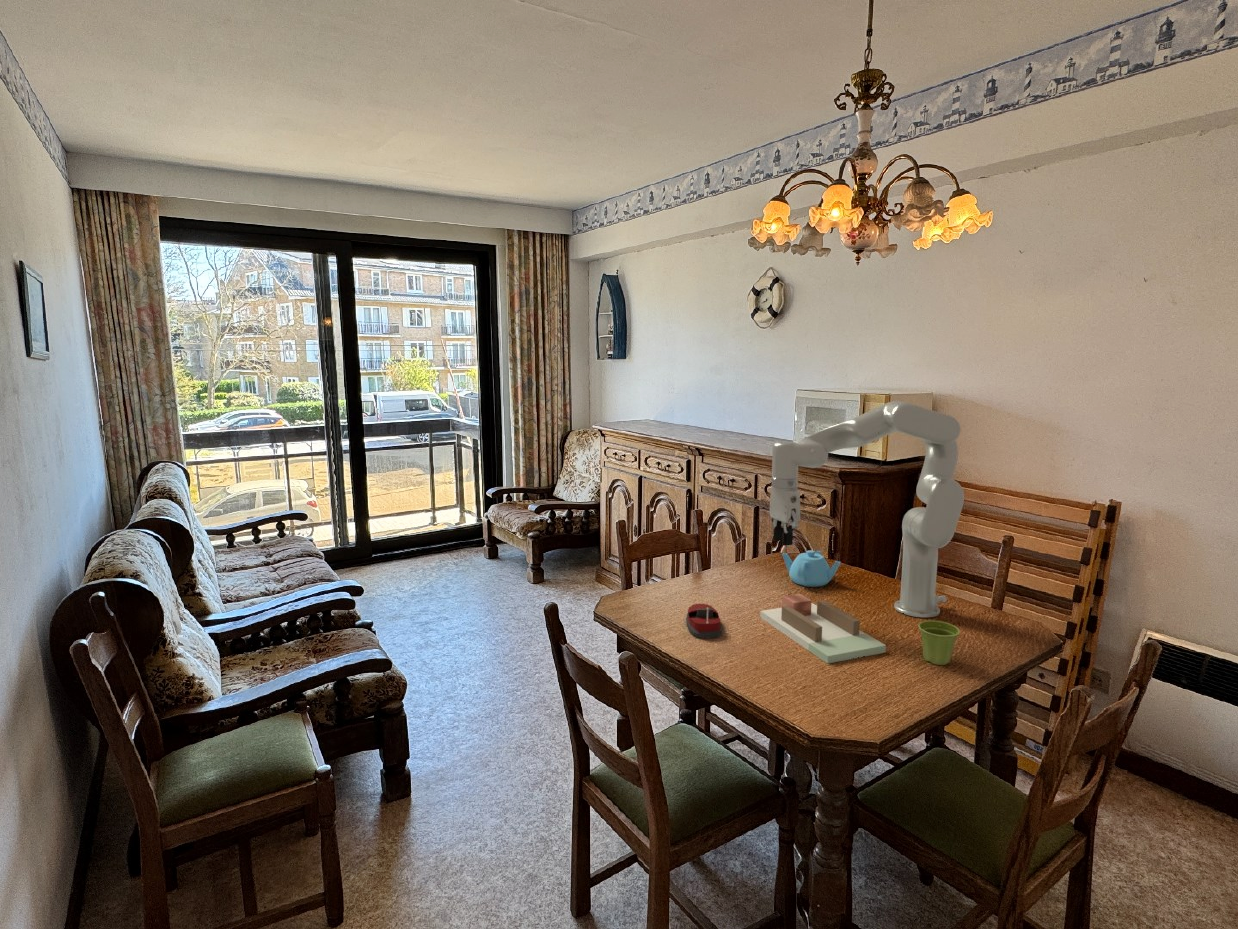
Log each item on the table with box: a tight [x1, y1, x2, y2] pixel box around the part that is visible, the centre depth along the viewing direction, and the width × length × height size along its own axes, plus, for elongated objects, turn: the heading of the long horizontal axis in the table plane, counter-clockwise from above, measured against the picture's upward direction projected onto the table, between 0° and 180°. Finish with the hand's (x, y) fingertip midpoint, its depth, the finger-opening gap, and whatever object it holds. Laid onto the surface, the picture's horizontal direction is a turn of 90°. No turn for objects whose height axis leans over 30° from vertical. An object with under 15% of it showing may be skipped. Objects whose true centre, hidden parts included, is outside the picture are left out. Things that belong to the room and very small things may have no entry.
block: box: [781, 593, 813, 616], centre depth 193 cm, size 6×6×4 cm
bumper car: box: [685, 603, 723, 639], centre depth 188 cm, size 10×20×10 cm, turn 2°
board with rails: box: [759, 600, 887, 664], centre depth 183 cm, size 18×32×6 cm, turn 19°
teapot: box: [781, 550, 842, 588], centre depth 226 cm, size 15×15×11 cm
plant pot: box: [917, 620, 961, 666], centre depth 167 cm, size 9×9×9 cm
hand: (782, 542), depth 198 cm, fingers open, 4 cm apart
